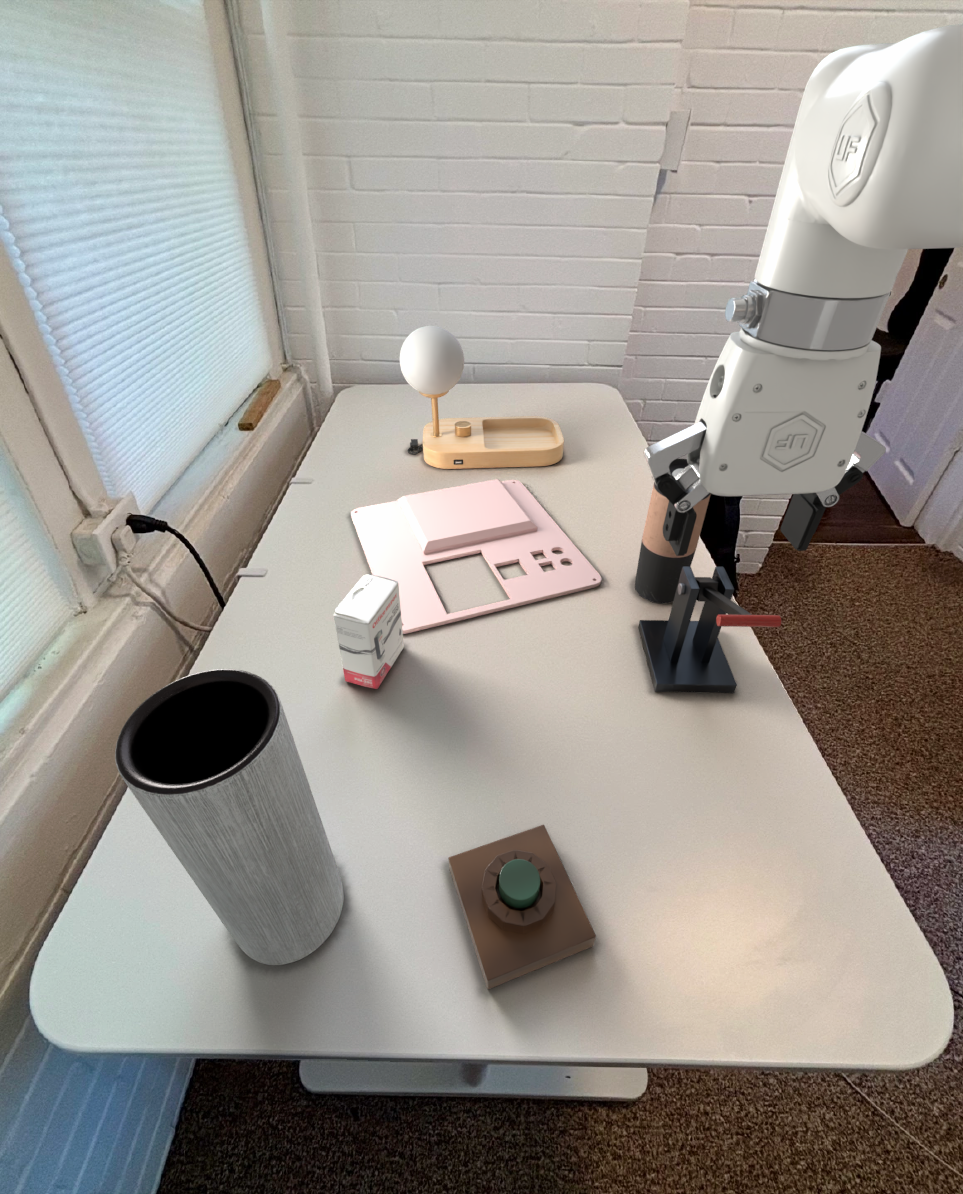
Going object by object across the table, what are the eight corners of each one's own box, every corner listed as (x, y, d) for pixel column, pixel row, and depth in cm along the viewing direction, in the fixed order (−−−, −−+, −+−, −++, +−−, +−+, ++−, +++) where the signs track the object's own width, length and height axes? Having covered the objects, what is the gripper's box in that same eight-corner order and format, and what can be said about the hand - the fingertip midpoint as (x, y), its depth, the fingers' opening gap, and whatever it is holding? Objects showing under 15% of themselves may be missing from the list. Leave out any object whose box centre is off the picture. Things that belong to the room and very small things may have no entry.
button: (545, 900, 52) (547, 891, 51) (507, 915, 51) (508, 906, 50) (529, 862, 54) (530, 853, 53) (493, 875, 53) (493, 866, 52)
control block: (593, 946, 52) (599, 927, 50) (487, 990, 50) (487, 973, 47) (542, 835, 60) (545, 814, 58) (448, 867, 58) (447, 847, 55)
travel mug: (644, 567, 95) (669, 453, 82) (691, 585, 91) (724, 468, 78) (624, 592, 90) (647, 474, 77) (672, 611, 87) (704, 491, 74)
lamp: (554, 431, 135) (563, 311, 118) (566, 466, 121) (578, 337, 105) (409, 434, 134) (398, 315, 117) (405, 471, 120) (392, 341, 104)
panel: (349, 512, 108) (347, 501, 107) (517, 481, 117) (518, 470, 115) (394, 636, 83) (393, 624, 81) (604, 584, 91) (606, 573, 90)
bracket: (734, 693, 74) (767, 611, 66) (654, 691, 75) (677, 610, 66) (708, 628, 84) (734, 548, 75) (637, 627, 84) (655, 548, 75)
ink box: (379, 692, 75) (367, 622, 67) (344, 682, 76) (328, 613, 69) (407, 646, 81) (399, 578, 74) (374, 638, 82) (363, 570, 75)
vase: (347, 848, 59) (289, 660, 42) (341, 958, 52) (267, 784, 34) (244, 860, 58) (142, 673, 41) (223, 974, 51) (86, 803, 33)
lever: (780, 634, 59) (783, 611, 58) (719, 633, 59) (721, 610, 58) (723, 596, 73) (726, 577, 72) (675, 595, 73) (676, 576, 73)
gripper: (692, 339, 33) (640, 577, 44) (986, 331, 34) (863, 567, 45) (654, 303, 39) (617, 522, 50) (906, 298, 40) (815, 514, 51)
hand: (733, 543), depth 48 cm, fingers open, 9 cm apart
